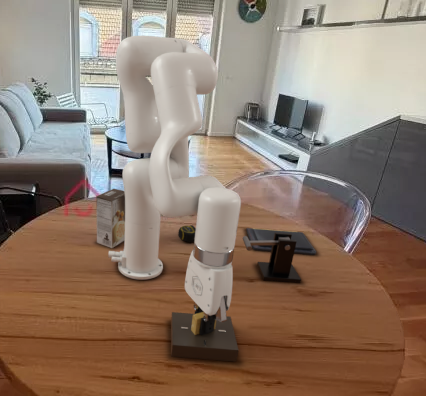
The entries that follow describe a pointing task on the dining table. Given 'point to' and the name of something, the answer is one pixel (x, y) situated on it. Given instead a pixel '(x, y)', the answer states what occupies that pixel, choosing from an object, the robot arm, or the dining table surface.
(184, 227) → the tape measure
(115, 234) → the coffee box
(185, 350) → the plate
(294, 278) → the handle bracket
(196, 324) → the thumbturn
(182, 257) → the dining table surface
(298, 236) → the dark grey flat tray
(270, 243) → the door handle
